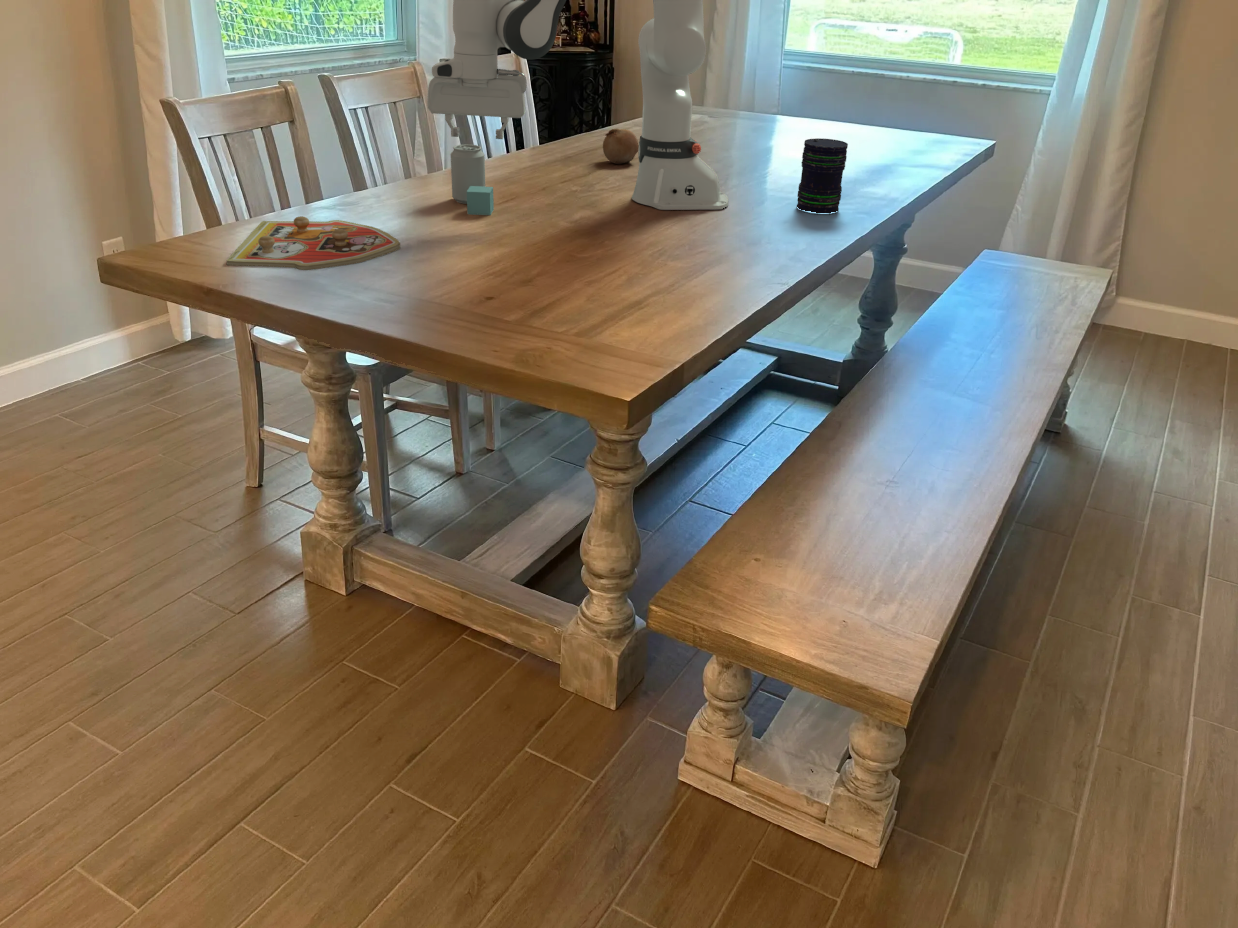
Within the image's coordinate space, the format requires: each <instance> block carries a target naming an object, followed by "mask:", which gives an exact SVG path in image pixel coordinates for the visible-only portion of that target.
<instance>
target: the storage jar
mask: <svg viewBox="0 0 1238 928" xmlns="http://www.w3.org/2000/svg"><path fill="white" fill-rule="evenodd" d="M803 145H804V147H803V152H802V157H801V158H802V159H801V167H802V169H801V176H800V183H799V184H798V190H797V204H796V208H797V207H798V208H799V209H801V210H805V211H811V212H816V213H831V212H836V211H838V212H839V210H840V208H839V206H840V201H841V199H842V189H843V187H842V180H843V174H844V171H845V168H846V162H847V157H848V156H847V153H848V152H847V151H848V150H847V149H848V145H849V144H848V143H847V142H846V141H843V140H838V139H832V138H820V137H819V138H809V139H805V140H804V143H803Z"/></svg>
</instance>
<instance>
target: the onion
mask: <svg viewBox="0 0 1238 928" xmlns="http://www.w3.org/2000/svg"><path fill="white" fill-rule="evenodd" d="M604 136H605V137H604V139H603V141H602V149H603V150H602V151H603V154H604V156H605V158H606V159H607V161H610V162H611V163H612V164H615V165H621V164H629V163H630V162H632V161H633V160H634V159H635V157H636V155H637V153H638V150H639V141H638V140H639V139H638V138H637V135H636V134H635V133H634V132H633V131H631V130H629V129H624V128H621V129H620V128H612V129H610V130H609V131H607V133H606V134H605V135H604Z"/></svg>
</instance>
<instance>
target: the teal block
mask: <svg viewBox="0 0 1238 928" xmlns="http://www.w3.org/2000/svg"><path fill="white" fill-rule="evenodd" d="M494 205H495V203H494V187H493V186H485V187H482V186H470V187H469V189H468V190H467V204H466V209H467V210H466V211H467V212H466V213H467V215H473V216H474V215H478V216H491V215H492V213H493V212H494V211H495V209H494V207H495V206H494Z"/></svg>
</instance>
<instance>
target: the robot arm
mask: <svg viewBox="0 0 1238 928" xmlns="http://www.w3.org/2000/svg"><path fill="white" fill-rule="evenodd" d="M452 2H453V3H452V30H453V34H454V39H455V42H454V47H453V58H448V59H445V60H442V61H439V62H437V63H434V65H432V67H431V75H432V76H433V77H432V78H431V79H430V80H429V83H428V87H427V88H428V89H427V97H426V99H427V100H426V104H427V105H426V106H427V109H428V111H429V112H430V113H431V114H439V115H444V119H445V122H446V123H447V125H448V127H449V129H450V137H452V138H455V137H456V138H457V137H458V138H459V137H460V127H459V126H458V127H457V126H456V125H455V123H454V122H453V119H454V115H455V116H471V117H472V116H474V117H489V118H490V117H493V118H494V117H497V118H500V123H502V125H501V127H500V129H499V128H497V129H496V130H495V139H496V140H504V135H505V134H504V131H505V130H506V127H507V125H508V124H509V121H510V120H509V119H510V118H512V119H521V118H522V117H523V116H524V115H525V114H526V97H525V92H526V90H527V88H528V87H527V84H528V83H527V77H526V75H525V74H524V73H522V72H520V70H518V69H504V68H502V69H501V68H498V67H499V66H498V49H500V48H506V49H508V50H509V51H511V52H513V53H514V54H515V56H517V57H518V58H521V59H524V60H532V61H533V60H537V59H540V58H542V57H544V56H545V55H546V54H548V52H549V51H550V50H551V49H552V48H553V45H554V44H555V41H556V37H557V32H558V31H557V30H558V24H559V18H560V15H561V12H562V10H563V8H564V5H565V4H566V2H567V0H453V1H452ZM652 4H653V7H652V8H653V17H652V18H651V19H649V20H648V21H646V23H644V25H643V26H642V27H641V29H640V32H639V34H638V42H637V43H638V49H639V60H640V61H639V63H640V65H639V66H640V77H641V88H642V90H641V91H642V122H641V135H640V136H639V141H638V145H639V148H638V152H637V153H638V155H637V156H638V158H637V159H638V162H639V164H638V169H637V170H638V172H637V176H636V181H635V186H634V189H633V193H632V196H631V200H633V201H634V202H635V203H638V204H641V205H645V206H648V207H653V208H654V209H657V210H662V211H671V210H672V211H673V210H677V211H679V210H681V211H682V210H683V211H684V210H687V211H688V210H691V211H694V210H695V211H697V210H724V209H726V208H727V207H728V206H729V197H728V196H727V194H725V193H724V192H722V191H721V183H720V180H719V177H718V175H717V172H715V171H716V170H714V169H713V168H712V167H710V166H709V165H708V164H707V163H706V162H705V161H704V160H702V158H700V157H699V154H700V153H701V150H702V146H701V144H700V143H699V142H698V141H697V140H696V139H693V138H692V137H691V133H692V132H691V129H692V113H693V99H692V93H691V89H690V88H691V87H690V79H689V77H690V76H689V75H691V74H694V73H695V72H697V71H698V70H699V69H700V68H701V67H702V65H703V64H704V62H705V59H706V55H707V45H706V44H707V43H706V40H705V30H704V29H705V25H704V24H705V23H704V22H705V20H704V17H705V16H704V0H652ZM725 207H726V208H725ZM723 208H724V209H723Z"/></svg>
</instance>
